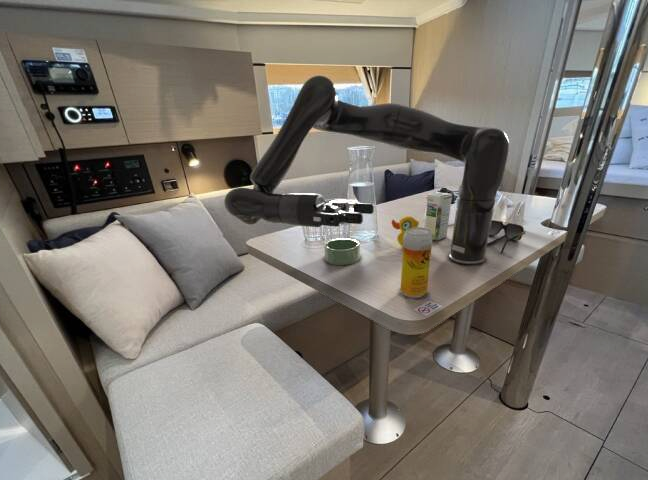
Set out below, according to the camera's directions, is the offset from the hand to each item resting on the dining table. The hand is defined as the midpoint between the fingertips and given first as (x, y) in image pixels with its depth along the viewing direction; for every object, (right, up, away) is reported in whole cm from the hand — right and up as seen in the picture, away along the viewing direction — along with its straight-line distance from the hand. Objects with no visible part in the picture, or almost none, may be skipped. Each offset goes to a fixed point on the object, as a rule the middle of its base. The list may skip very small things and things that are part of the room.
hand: (368, 213), depth 70 cm
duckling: (+16, -3, +31) cm, 35 cm away
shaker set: (+54, +7, +46) cm, 71 cm away
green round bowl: (-5, -7, +26) cm, 27 cm away
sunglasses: (+43, -1, +32) cm, 54 cm away
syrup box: (+27, +2, +39) cm, 48 cm away
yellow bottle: (+11, -18, +5) cm, 22 cm away
